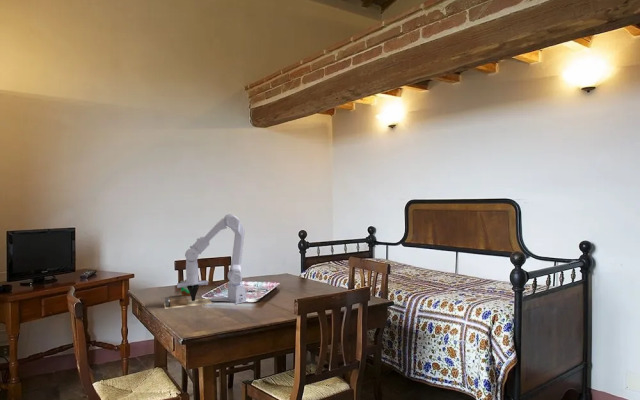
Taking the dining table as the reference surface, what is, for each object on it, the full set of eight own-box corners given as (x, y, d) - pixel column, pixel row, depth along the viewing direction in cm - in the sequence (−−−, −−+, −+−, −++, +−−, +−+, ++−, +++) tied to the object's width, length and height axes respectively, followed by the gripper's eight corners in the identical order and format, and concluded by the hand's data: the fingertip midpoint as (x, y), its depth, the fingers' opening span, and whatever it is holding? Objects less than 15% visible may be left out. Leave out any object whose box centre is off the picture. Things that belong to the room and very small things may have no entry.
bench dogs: (169, 304, 224) (169, 296, 224) (170, 306, 218) (170, 299, 218) (165, 304, 223) (164, 297, 223) (165, 307, 217) (165, 300, 217)
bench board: (209, 301, 234) (209, 298, 234) (212, 306, 223) (212, 303, 223) (163, 306, 225) (163, 303, 225) (165, 312, 214) (165, 309, 214)
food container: (191, 300, 237) (190, 281, 236) (180, 300, 238) (179, 280, 238) (202, 294, 249) (201, 276, 248) (191, 294, 250) (191, 276, 250)
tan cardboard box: (186, 302, 227) (186, 296, 227) (187, 304, 221) (187, 298, 221) (169, 304, 224) (169, 297, 224) (170, 306, 218) (170, 300, 218)
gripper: (206, 270, 231) (207, 297, 231) (176, 273, 226) (177, 300, 226) (208, 272, 224) (209, 300, 225) (177, 275, 219) (178, 303, 219)
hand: (193, 300), depth 225 cm, fingers closed
